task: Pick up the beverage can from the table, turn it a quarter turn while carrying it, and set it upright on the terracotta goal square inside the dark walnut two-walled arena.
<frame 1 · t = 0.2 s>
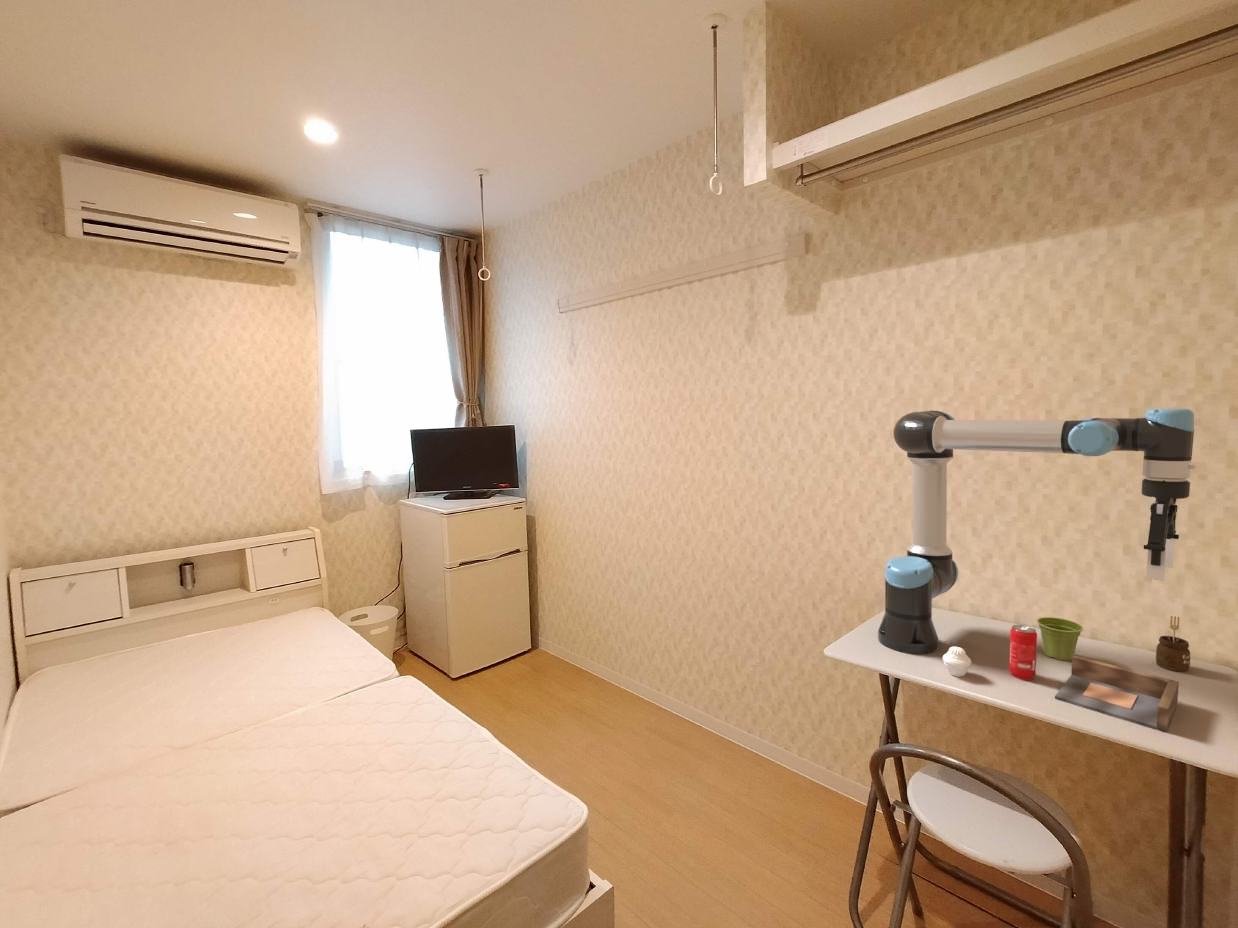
hand: (1159, 572, 124), 28 cm above the table, tool pointing down, fingers open, 13 cm apart
arena: (1115, 700, 122), on the table
plant pot: (1058, 656, 144), on the table
utensil holder: (1172, 667, 137), on the table
beverage can: (1022, 676, 135), on the table
muffin: (956, 674, 137), on the table
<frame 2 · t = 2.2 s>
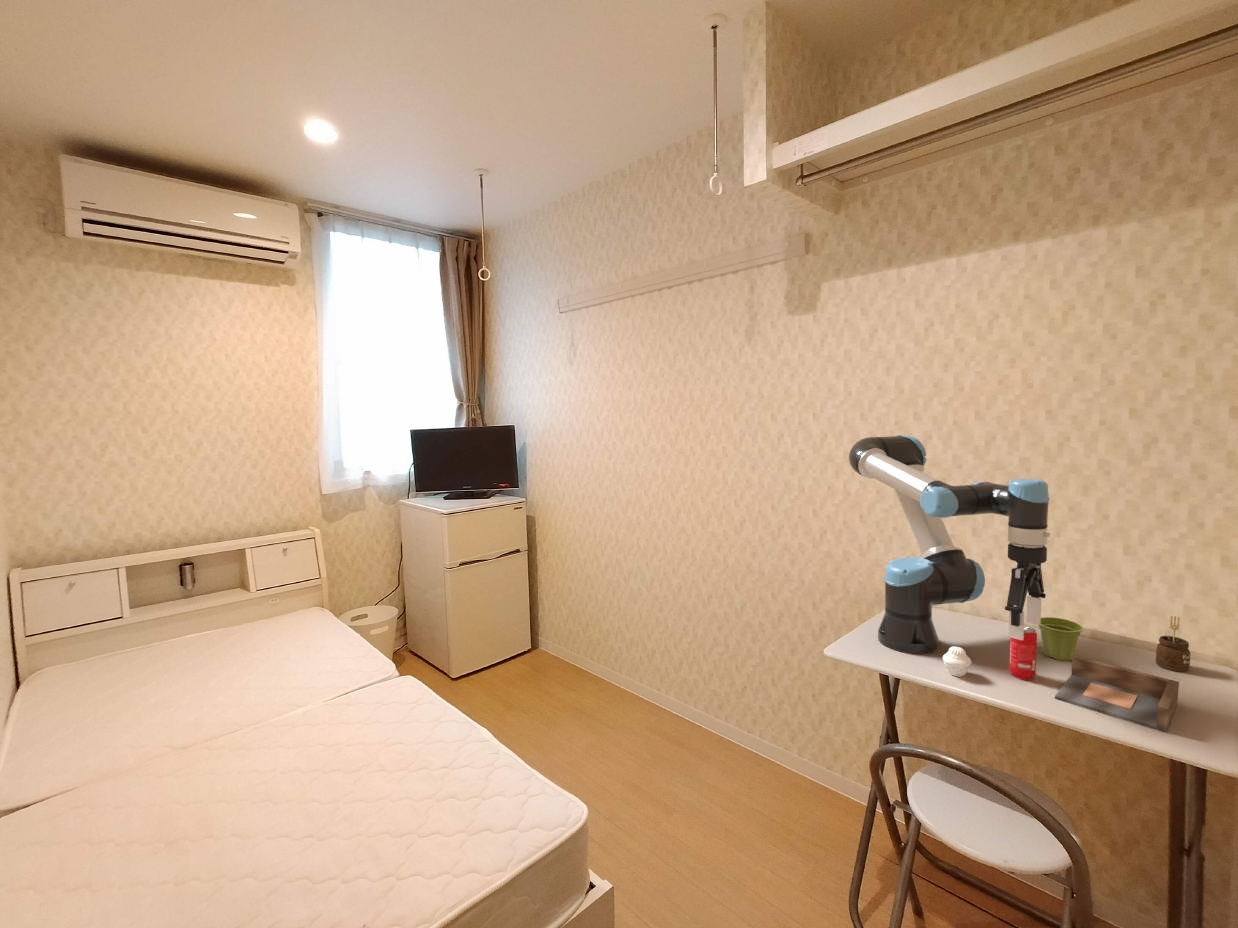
hand: (1025, 630, 133), 12 cm above the table, tool pointing down, fingers open, 13 cm apart
nothing on the table moved.
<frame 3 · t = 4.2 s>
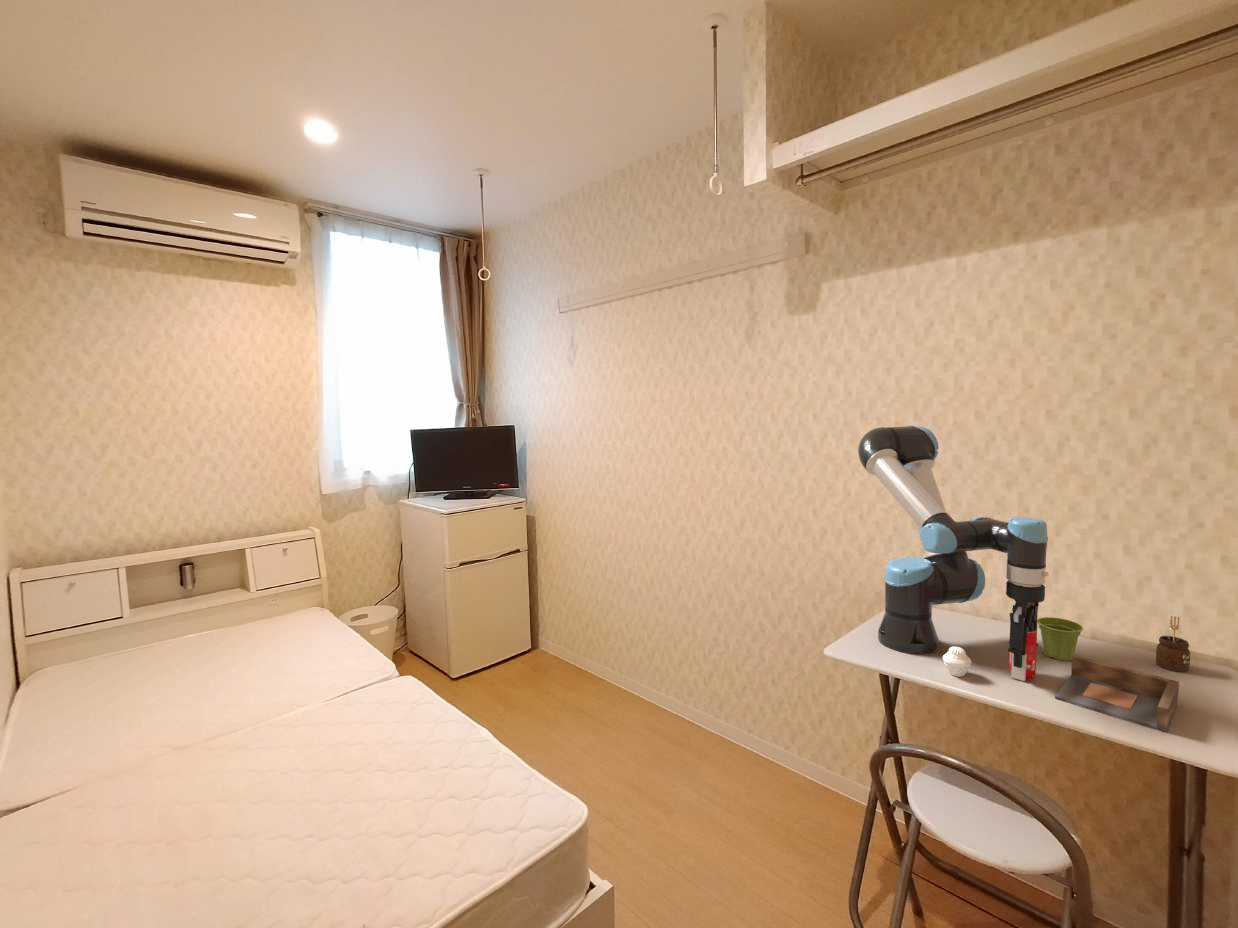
hand: (1022, 674, 135), 0 cm above the table, tool pointing down, fingers closed on beverage can, 5 cm apart
beverage can: (1022, 676, 135), on the table, touching gripper
everything else where it was.
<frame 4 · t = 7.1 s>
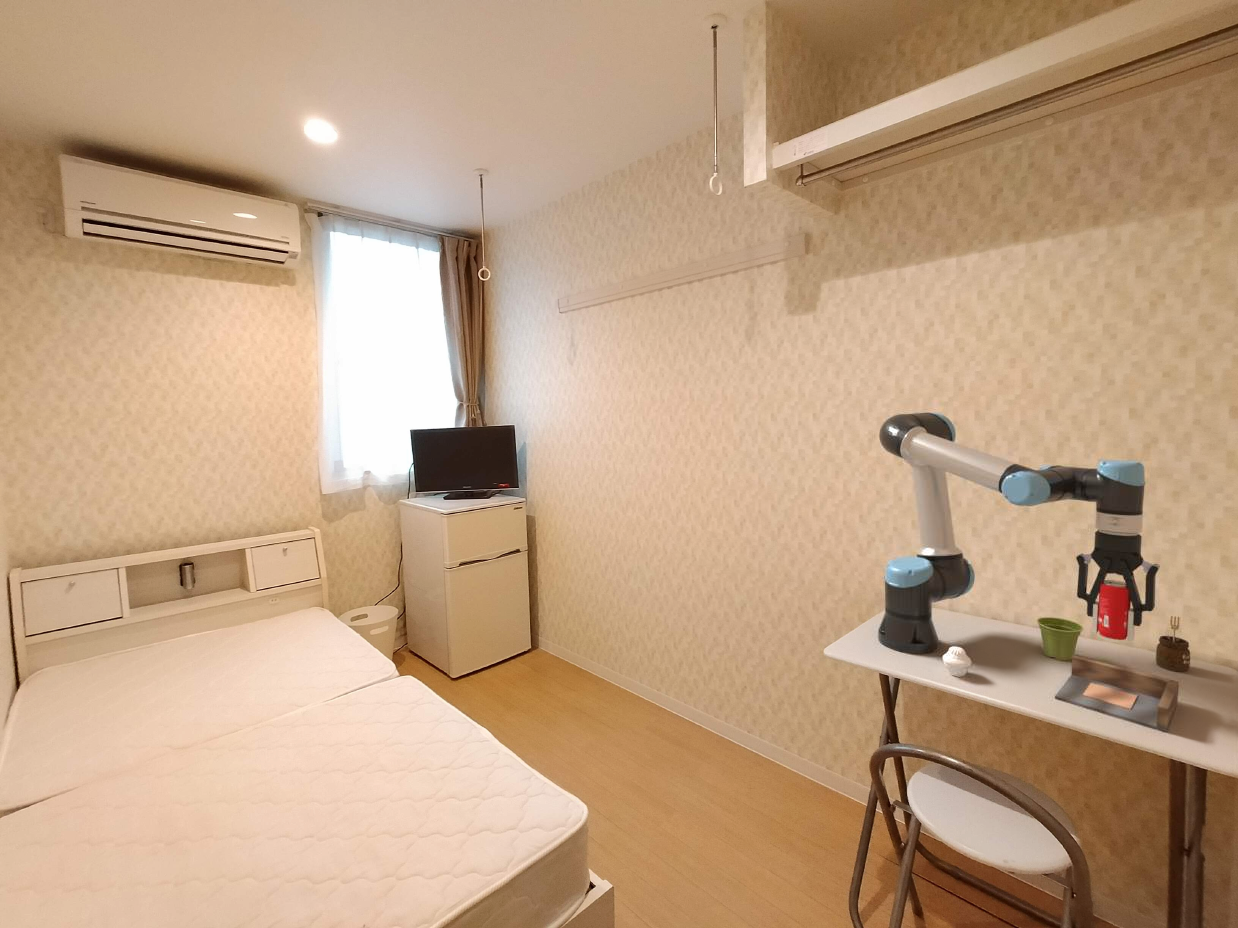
hand: (1112, 634, 122), 15 cm above the table, tool pointing down, fingers closed on beverage can, 5 cm apart
beverage can: (1112, 636, 122), point 14 cm above the table, touching gripper
everything else where it was.
when the fingers open (2 cm above the table, at t = 10.1 s): beverage can drops 1 cm, resting on arena.
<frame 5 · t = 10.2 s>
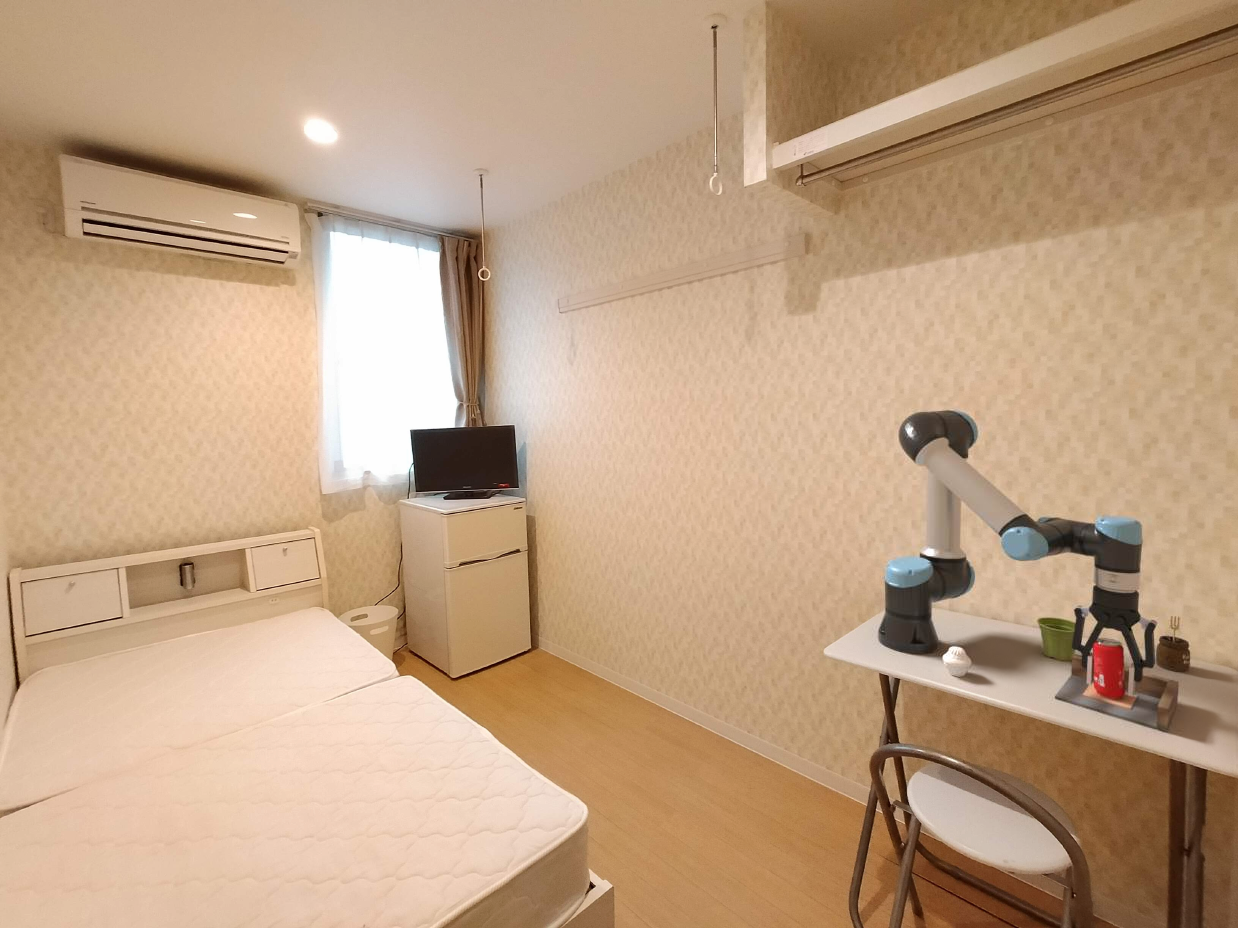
hand: (1110, 687, 123), 3 cm above the table, tool pointing down, fingers open, 6 cm apart
beverage can: (1109, 695, 123), point 1 cm above the table, touching arena
everything else where it was.
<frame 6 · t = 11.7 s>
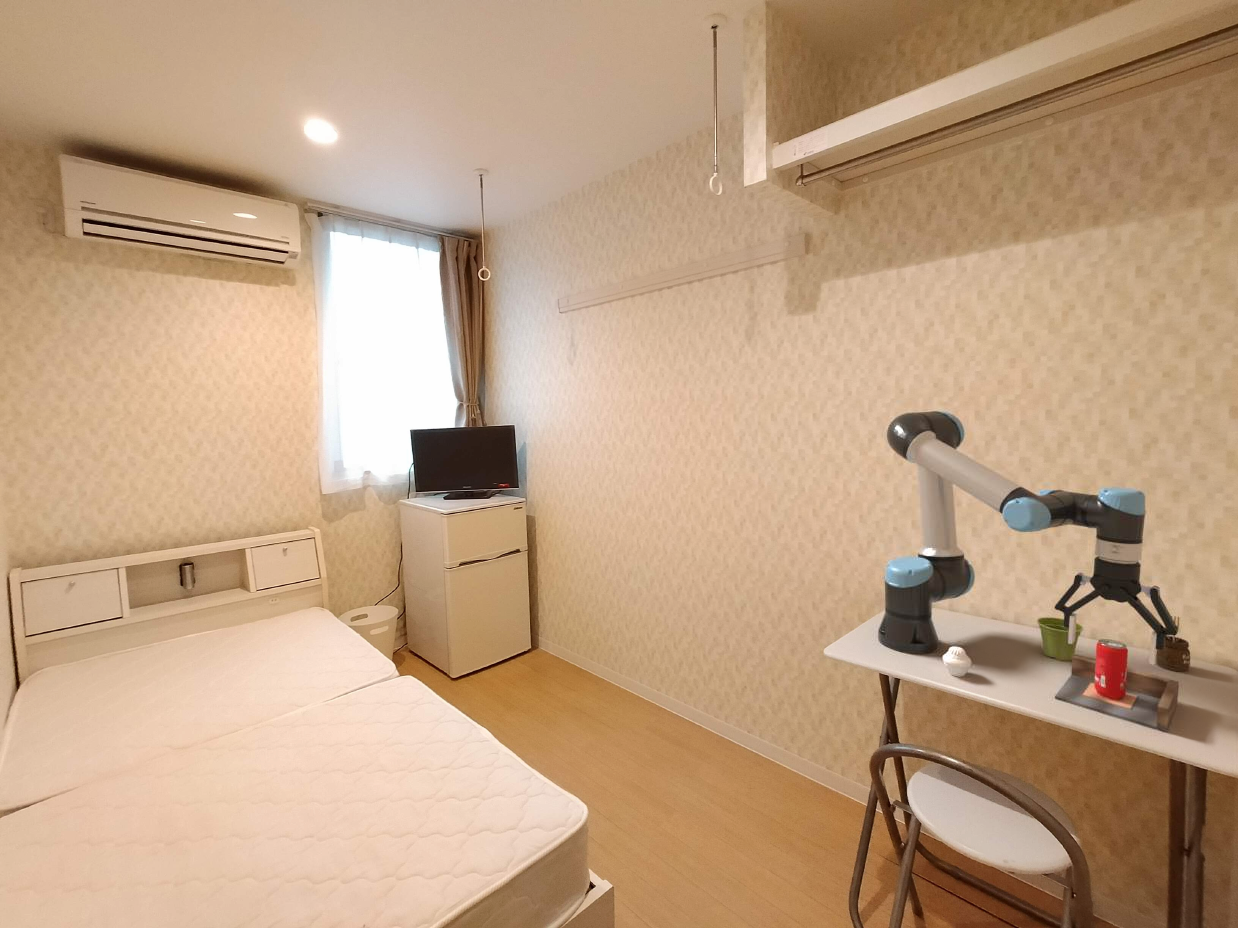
hand: (1110, 651, 123), 11 cm above the table, tool pointing down, fingers open, 13 cm apart
nothing on the table moved.
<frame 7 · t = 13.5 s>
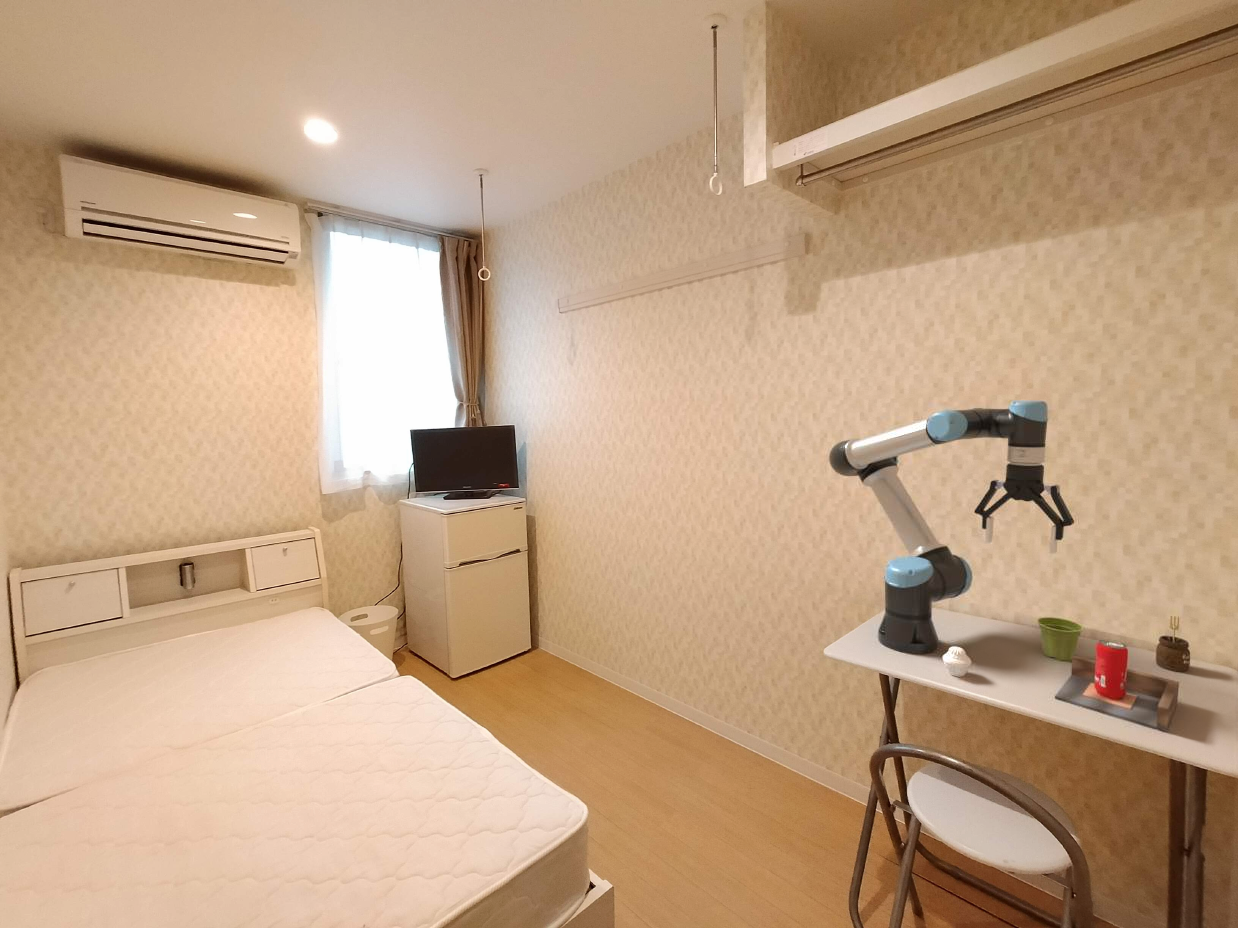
hand: (1019, 546, 139), 30 cm above the table, tool pointing down, fingers open, 13 cm apart
nothing on the table moved.
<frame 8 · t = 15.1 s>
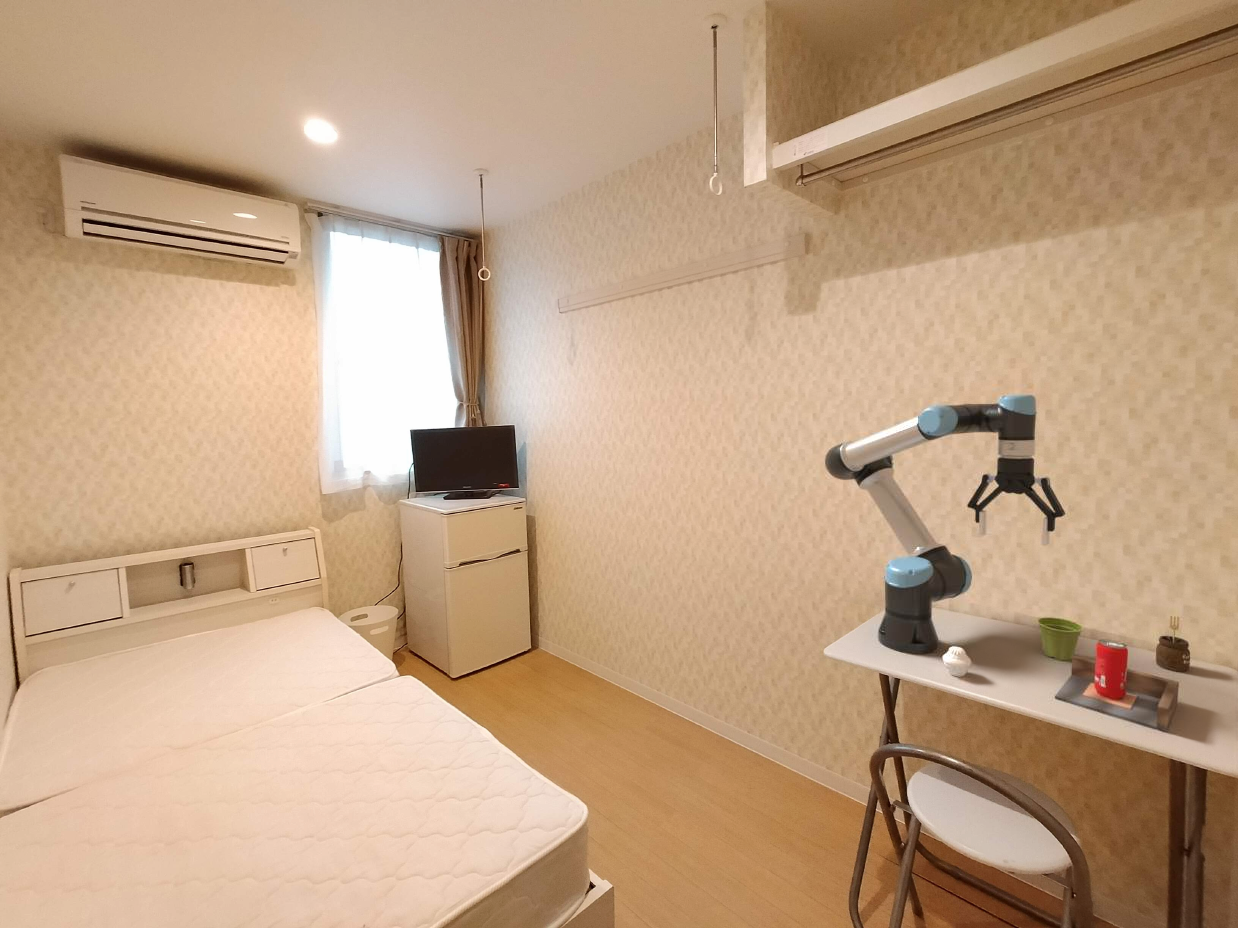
hand: (1012, 539, 140), 32 cm above the table, tool pointing down, fingers open, 13 cm apart
nothing on the table moved.
at the end: beverage can 0.4 cm from the target spot, point 0.6 cm above the table; beverage can tilted 0°; the gripper is holding nothing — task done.
